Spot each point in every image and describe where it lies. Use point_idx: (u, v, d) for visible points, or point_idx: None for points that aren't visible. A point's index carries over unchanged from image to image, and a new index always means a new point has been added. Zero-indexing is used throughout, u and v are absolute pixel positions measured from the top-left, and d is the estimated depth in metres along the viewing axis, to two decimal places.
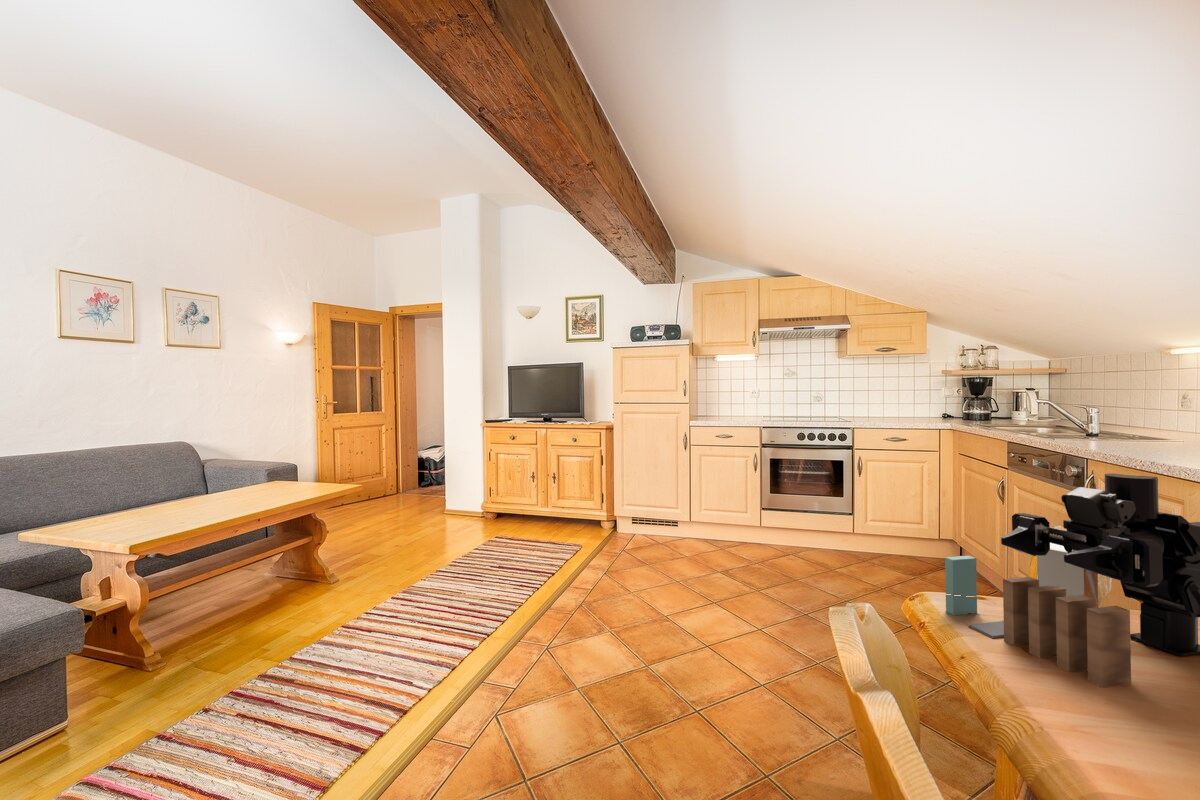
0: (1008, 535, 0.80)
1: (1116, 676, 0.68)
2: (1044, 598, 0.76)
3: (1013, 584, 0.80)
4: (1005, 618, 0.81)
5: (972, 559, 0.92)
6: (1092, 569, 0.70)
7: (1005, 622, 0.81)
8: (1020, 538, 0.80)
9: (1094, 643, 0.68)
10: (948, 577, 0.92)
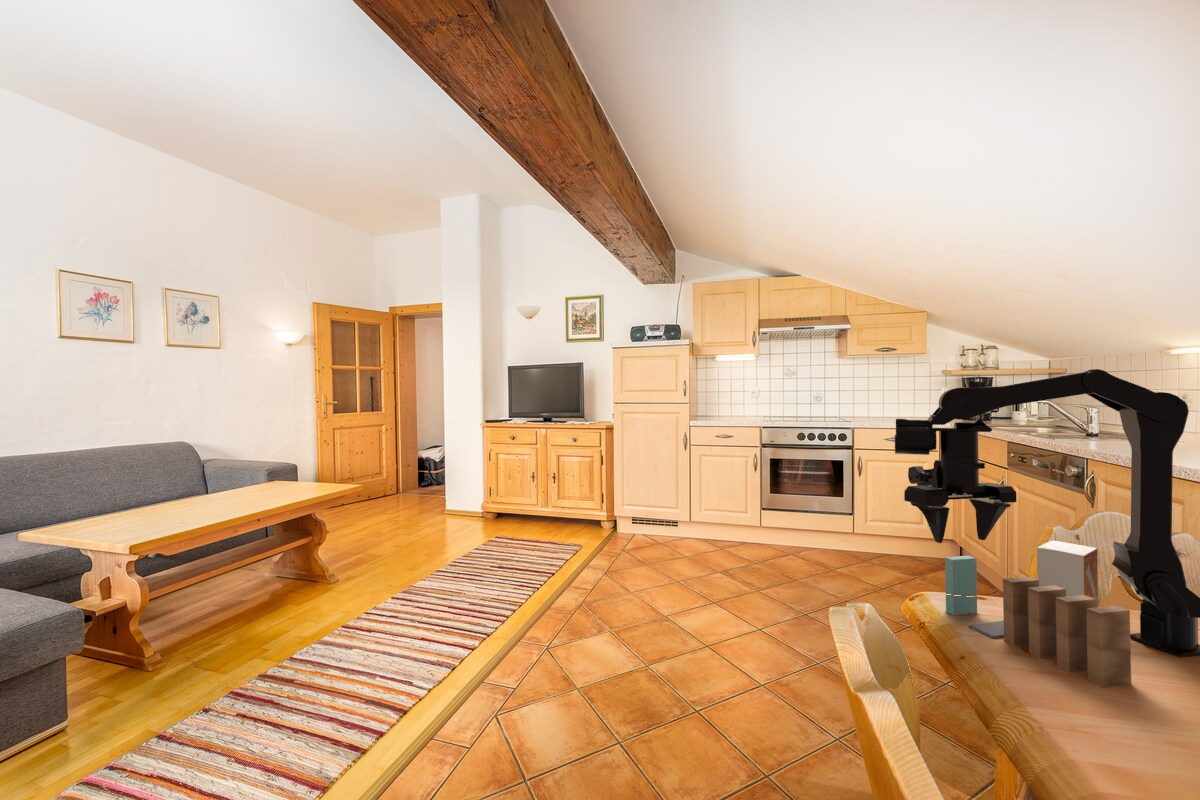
0: None
1: (1116, 676, 0.68)
2: (1044, 598, 0.76)
3: (1013, 584, 0.80)
4: (1005, 618, 0.81)
5: (972, 559, 0.92)
6: (939, 527, 0.90)
7: (1005, 622, 0.81)
8: (980, 519, 0.93)
9: (1094, 643, 0.68)
10: (948, 577, 0.92)
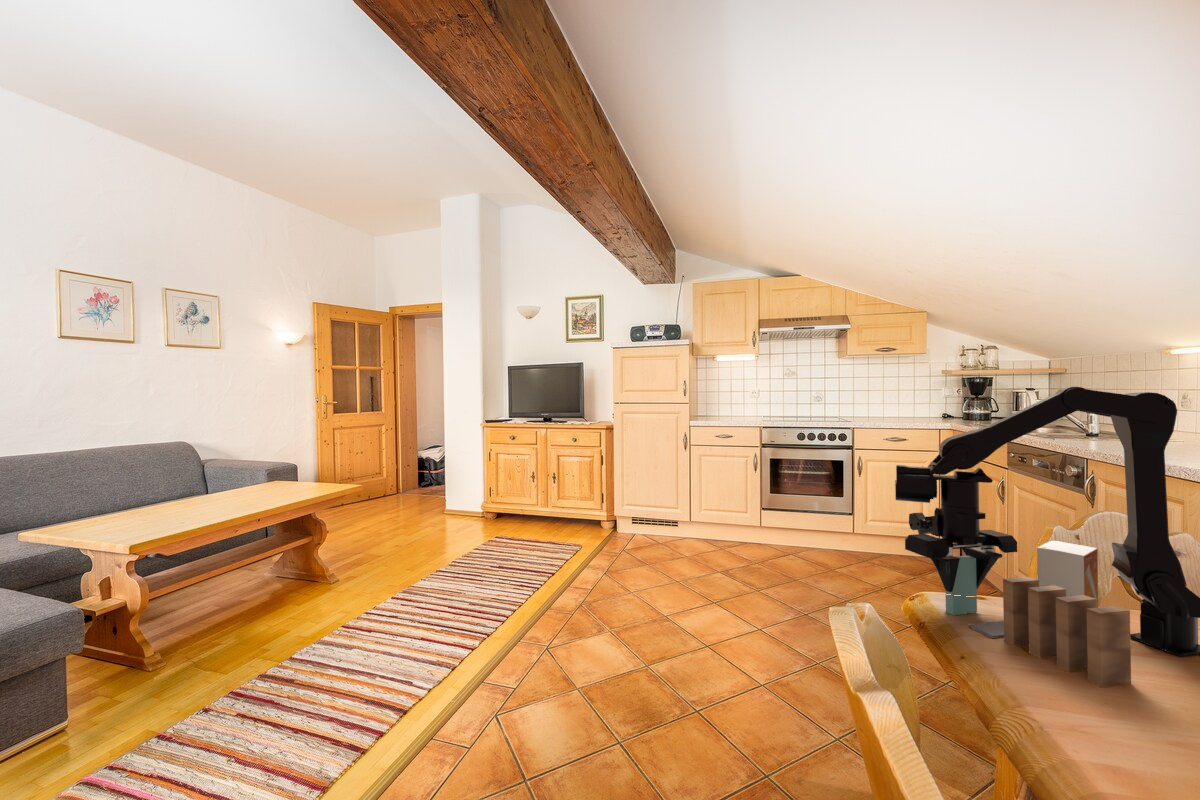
0: None
1: (1116, 676, 0.68)
2: (1044, 598, 0.76)
3: (1013, 584, 0.80)
4: (1005, 618, 0.81)
5: (971, 559, 0.92)
6: (949, 577, 0.90)
7: (1005, 622, 0.81)
8: None
9: (1094, 643, 0.68)
10: None
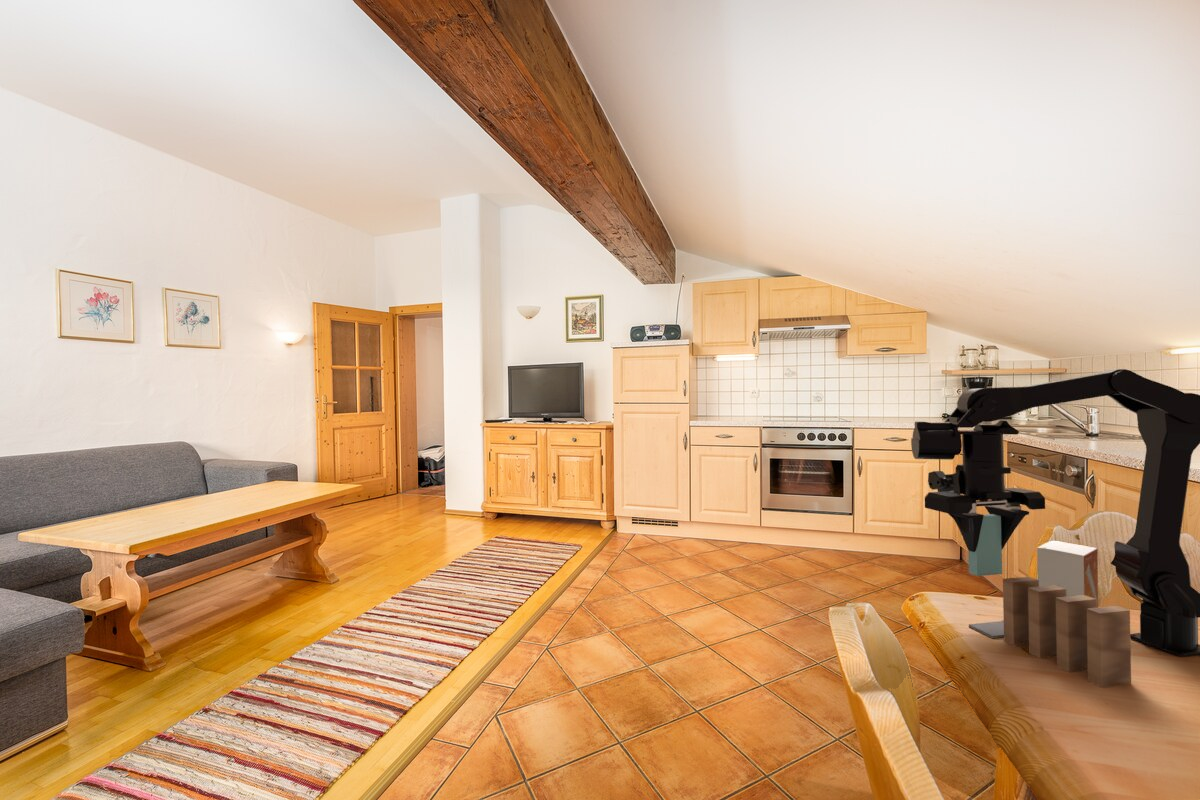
0: None
1: (1116, 676, 0.68)
2: (1044, 598, 0.76)
3: (1013, 584, 0.80)
4: (1005, 618, 0.81)
5: (996, 517, 0.87)
6: (973, 535, 0.85)
7: (1005, 622, 0.81)
8: None
9: (1094, 643, 0.68)
10: None
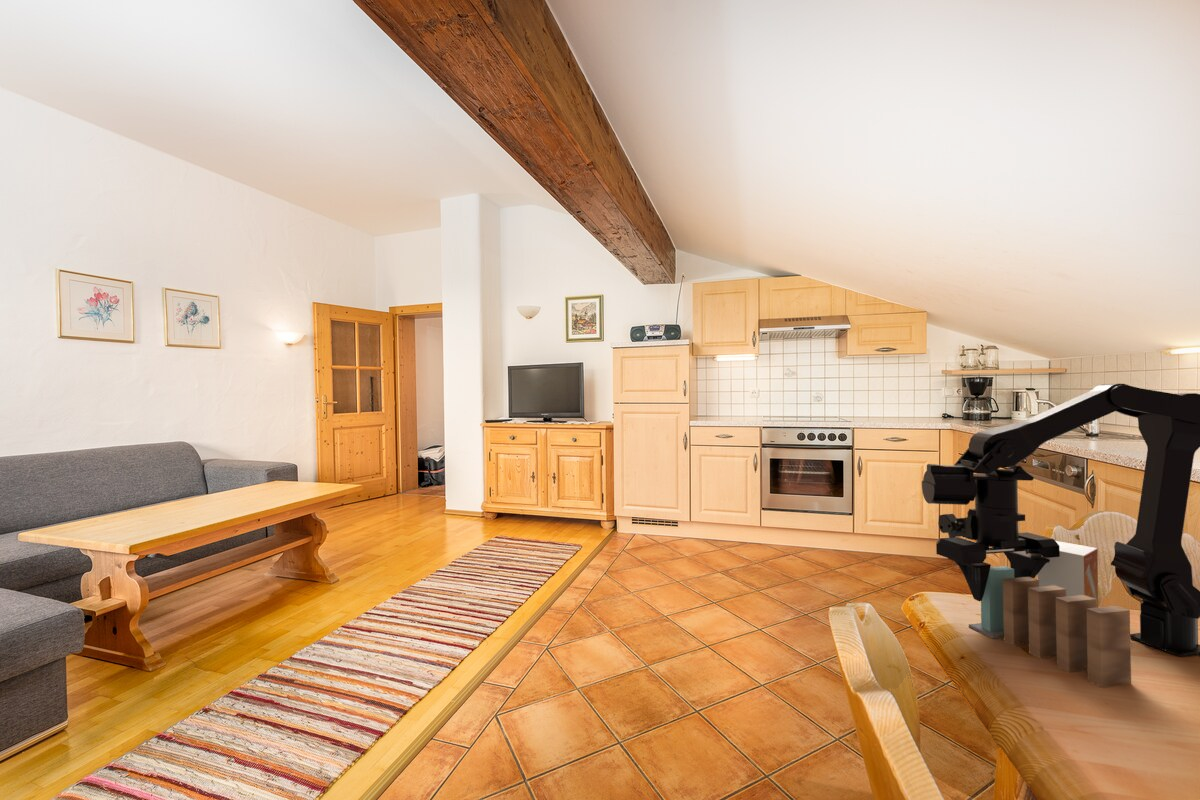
0: None
1: (1116, 676, 0.68)
2: (1044, 598, 0.76)
3: (1013, 584, 0.80)
4: (1005, 618, 0.81)
5: (1009, 570, 0.84)
6: (979, 585, 0.82)
7: (1005, 622, 0.81)
8: (1016, 574, 0.86)
9: (1094, 643, 0.68)
10: None
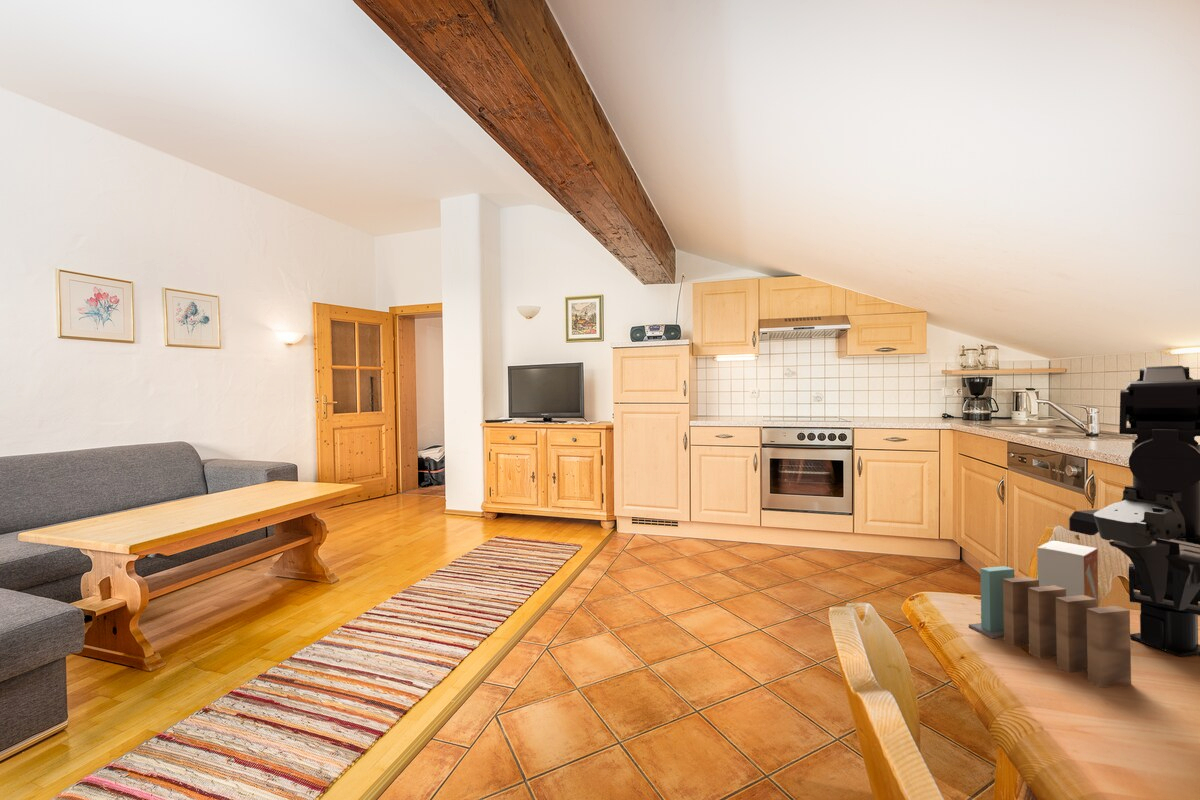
0: (1150, 591, 0.64)
1: (1116, 676, 0.68)
2: (1044, 598, 0.76)
3: (1013, 584, 0.80)
4: (1005, 618, 0.81)
5: (1009, 570, 0.84)
6: None
7: (1005, 622, 0.81)
8: (1154, 574, 0.64)
9: (1094, 643, 0.68)
10: (984, 590, 0.84)
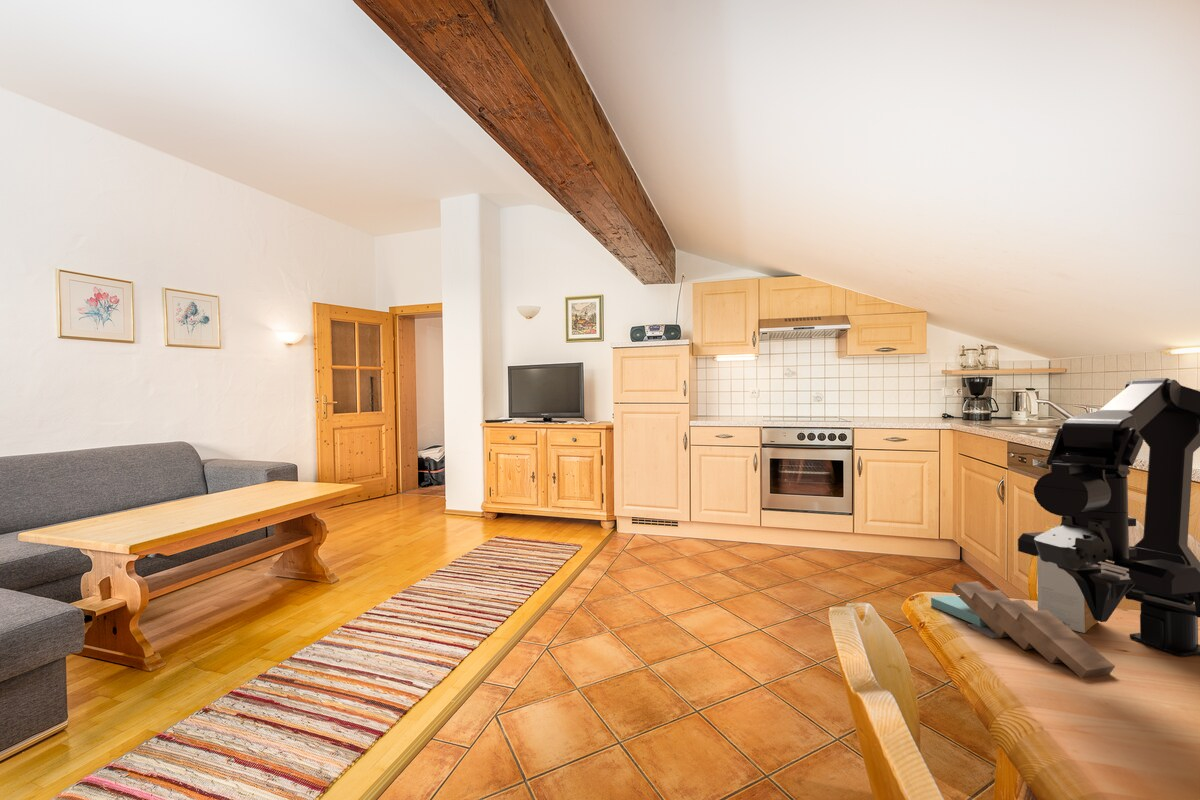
0: (1092, 610, 0.70)
1: (1092, 660, 0.71)
2: (985, 596, 0.85)
3: (957, 585, 0.89)
4: (981, 617, 0.85)
5: (950, 596, 0.96)
6: (1119, 601, 0.69)
7: (984, 620, 0.84)
8: (1096, 594, 0.70)
9: (1045, 639, 0.75)
10: (947, 608, 0.92)
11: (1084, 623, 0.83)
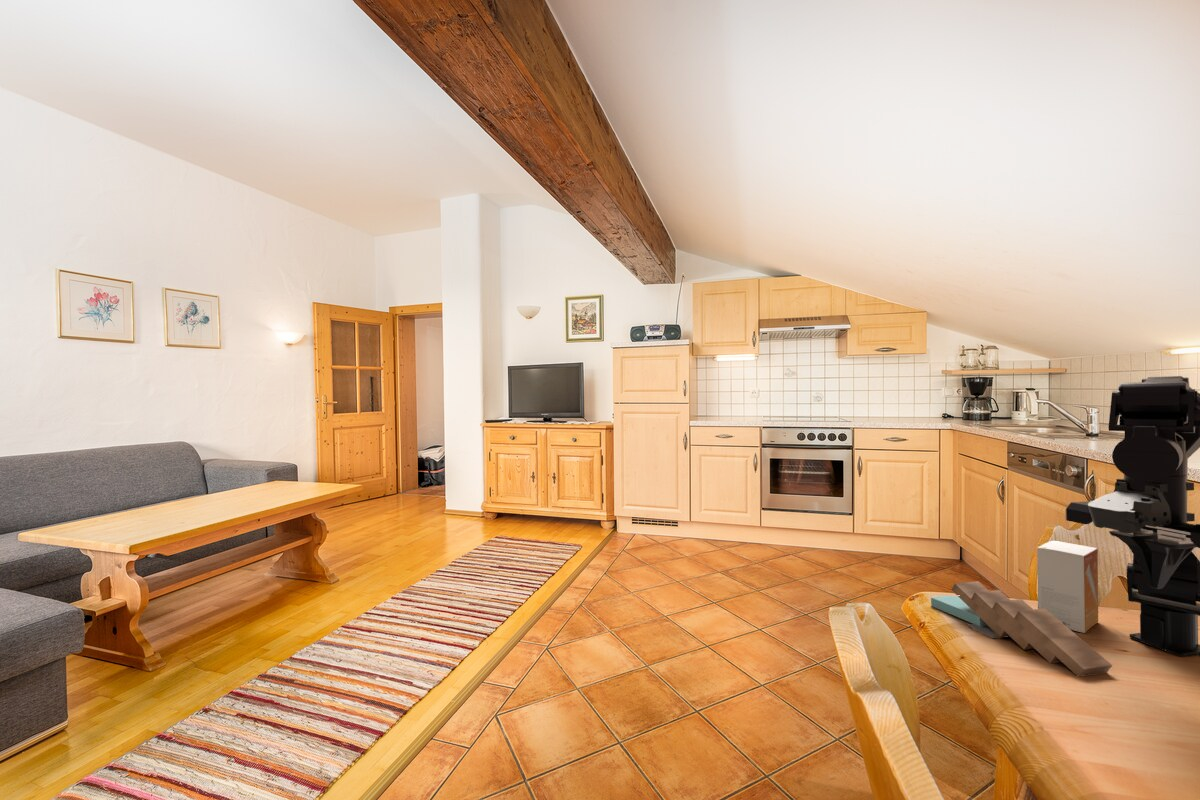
0: (1148, 577, 0.69)
1: (1089, 659, 0.71)
2: (985, 596, 0.85)
3: (957, 585, 0.89)
4: (981, 617, 0.85)
5: (950, 596, 0.96)
6: (1175, 567, 0.67)
7: (984, 620, 0.84)
8: (1151, 560, 0.69)
9: (1043, 638, 0.75)
10: (947, 608, 0.92)
11: (1084, 623, 0.83)
